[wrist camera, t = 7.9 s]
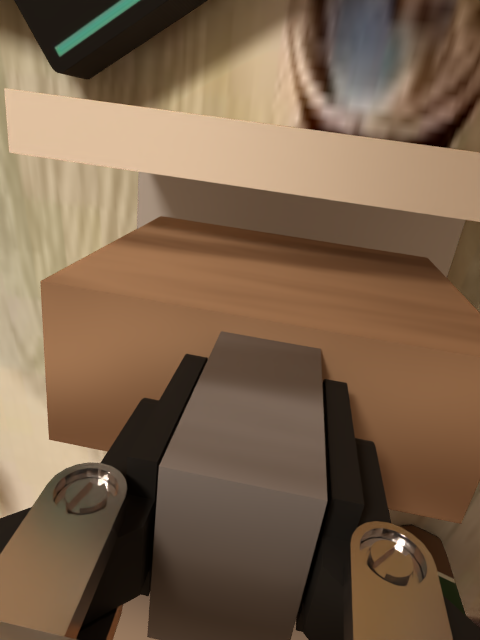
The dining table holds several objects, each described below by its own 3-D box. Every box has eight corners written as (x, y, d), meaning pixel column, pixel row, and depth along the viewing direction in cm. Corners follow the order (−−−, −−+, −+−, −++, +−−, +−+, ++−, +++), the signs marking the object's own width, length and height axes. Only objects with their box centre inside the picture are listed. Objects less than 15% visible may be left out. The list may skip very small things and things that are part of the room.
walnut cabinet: (160, 215, 21) (-141, 379, 7) (427, 257, 20) (700, 547, 6) (155, 315, 23) (-87, 596, 9) (397, 358, 22) (548, 751, 8)
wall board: (165, 110, 31) (4, 88, 15) (460, 149, 30) (645, 174, 13) (158, 243, 35) (24, 343, 19) (419, 285, 33) (523, 436, 17)
